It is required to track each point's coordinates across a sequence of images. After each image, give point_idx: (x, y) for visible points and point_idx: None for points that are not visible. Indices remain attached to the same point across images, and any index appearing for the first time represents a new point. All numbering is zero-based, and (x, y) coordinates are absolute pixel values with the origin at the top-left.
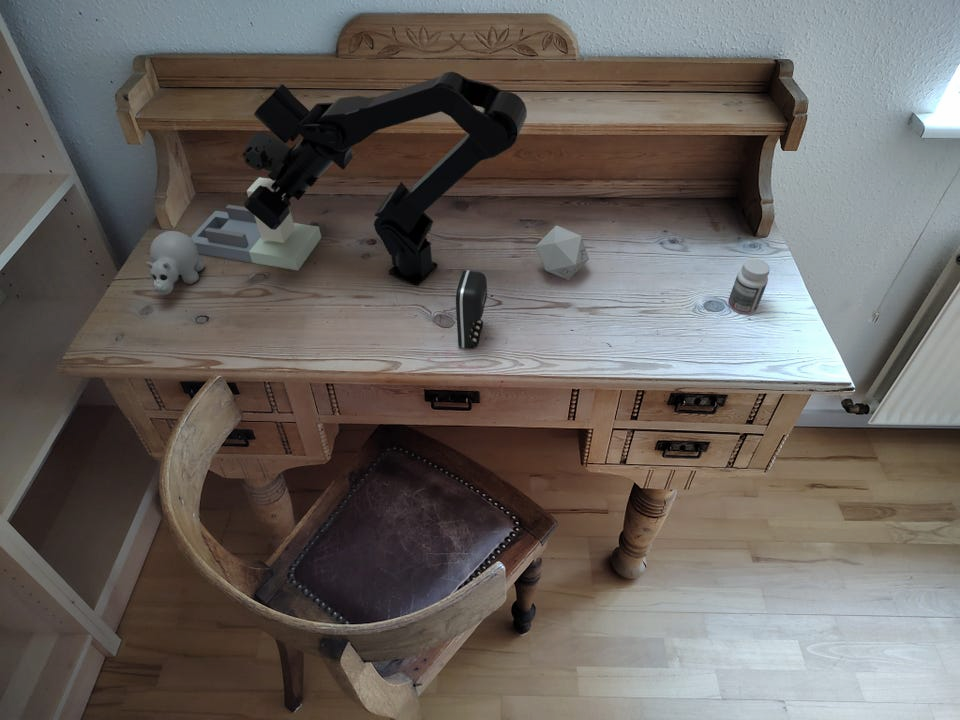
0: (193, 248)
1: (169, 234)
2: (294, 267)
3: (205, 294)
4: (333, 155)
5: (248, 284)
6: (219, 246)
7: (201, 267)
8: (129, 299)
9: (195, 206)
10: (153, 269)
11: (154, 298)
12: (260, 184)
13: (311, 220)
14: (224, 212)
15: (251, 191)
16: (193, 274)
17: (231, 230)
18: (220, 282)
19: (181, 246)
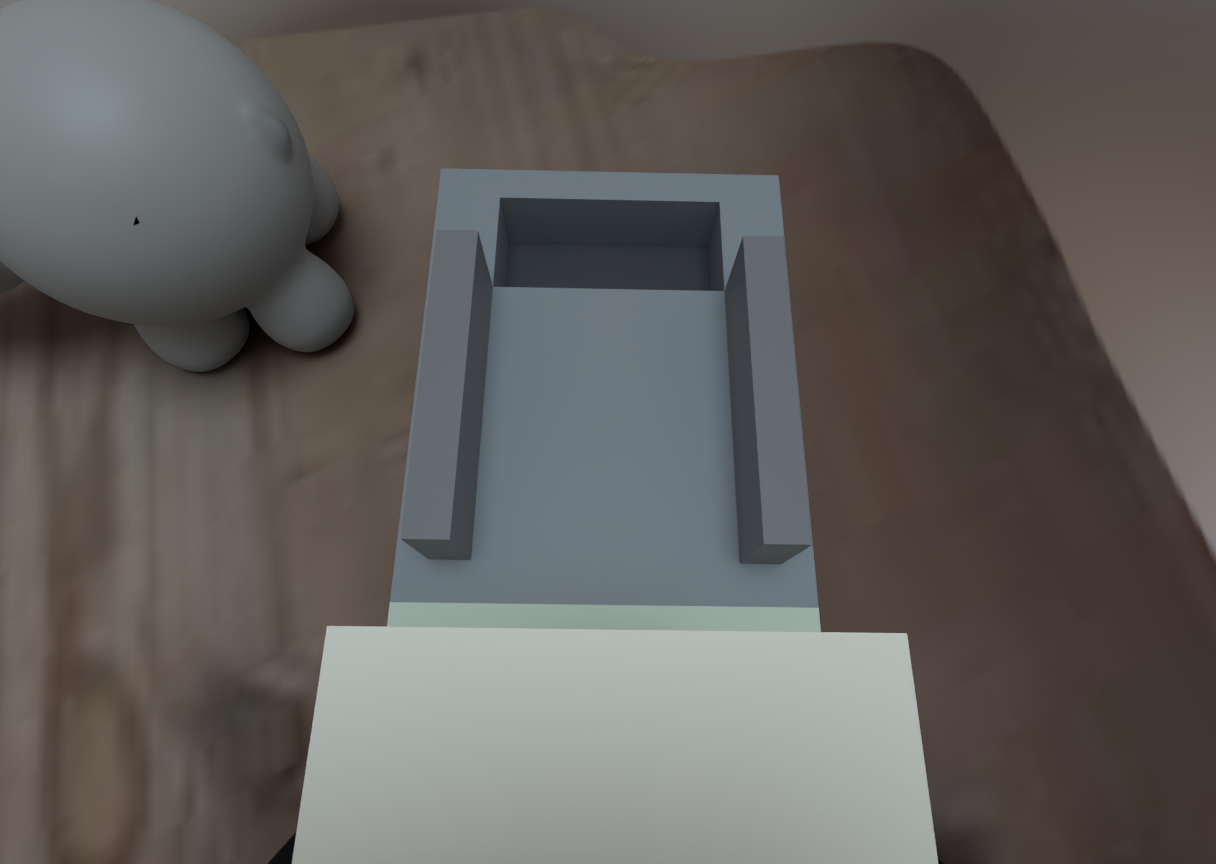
0: (125, 272)
1: (44, 49)
2: None
3: (84, 472)
4: None
5: (187, 698)
6: (419, 371)
7: (284, 344)
8: None
9: (840, 63)
10: None
11: None
12: (649, 825)
13: (996, 818)
14: (778, 231)
15: (316, 755)
16: (158, 345)
17: (606, 362)
18: (202, 504)
19: (4, 196)
